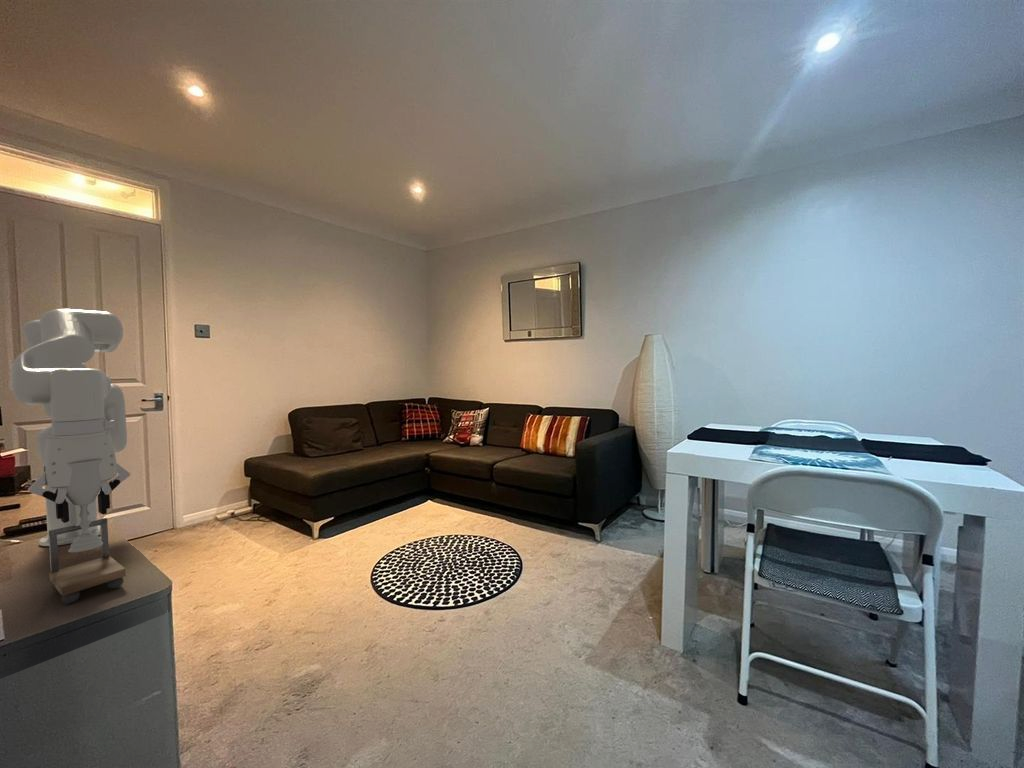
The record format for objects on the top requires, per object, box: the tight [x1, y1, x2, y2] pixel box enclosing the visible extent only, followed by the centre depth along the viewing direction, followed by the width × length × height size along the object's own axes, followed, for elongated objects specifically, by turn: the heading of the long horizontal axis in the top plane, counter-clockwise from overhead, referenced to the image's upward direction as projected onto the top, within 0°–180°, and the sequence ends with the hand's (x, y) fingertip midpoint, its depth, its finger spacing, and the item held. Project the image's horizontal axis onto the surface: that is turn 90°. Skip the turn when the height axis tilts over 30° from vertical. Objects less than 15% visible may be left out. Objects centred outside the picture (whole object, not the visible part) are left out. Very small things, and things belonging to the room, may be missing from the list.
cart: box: [47, 517, 126, 605], centre depth 85 cm, size 12×9×12 cm
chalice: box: [65, 459, 103, 553], centre depth 85 cm, size 7×7×18 cm
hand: (84, 516), depth 85 cm, fingers closed on chalice, 4 cm apart
